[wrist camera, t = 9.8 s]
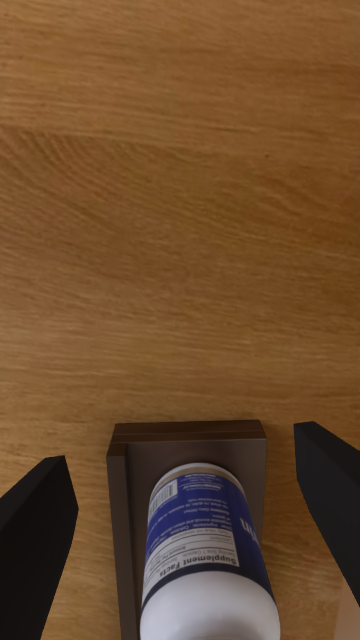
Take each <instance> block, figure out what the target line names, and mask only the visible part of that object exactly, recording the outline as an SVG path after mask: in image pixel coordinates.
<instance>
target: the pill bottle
mask: <svg viewBox="0 0 360 640" xmlns="http://www.w3.org/2000/svg"><path fill="white" fill-rule="evenodd" d="M140 636H141V640H280V622H279V616H278V611H277V607H276V603H275V600H274V596H273V593H272V589H271V586H270V582H269V579H268V575H267V571H266V568H265V564H264V561H263V557H262V554H261V550H260V547H259V543H258V540H257V536H256V532H255V529H254V525H253V521H252V518H251V514H250V511H249V507H248V503H247V500H246V497H245V493H244V491H243V488H242V486H241V485H240V483H239V482H238V480H237V479H236V478H235V477H234V476H233V475H232V474H231V473H230V472H228V471H227V470H225V469H223V468H221V467H219V466H216V465H212V464H208V463H190V464H185V465H182V466H179V467H177V468H175V469H173V470H171V471H169V472H168V473H167V474H165V475H164V476H163V477H162V478H161V479H160V480H159V482H158V483H157V484H156V486H155V488H154V489H153V492H152V494H151V498H150V503H149V511H148V526H147V541H146V555H145V568H144V581H143V594H142V606H141V622H140Z"/></svg>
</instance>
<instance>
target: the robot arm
mask: <svg viewBox="0 0 360 640" xmlns="http://www.w3.org/2000/svg"><path fill="white" fill-rule="evenodd" d="M294 439H295V455H296V472H297V481H298V483H299V486H300V488H301V491H302V494H303V496H304V499H305V501H306V504H307V506H308V509H309V511H310V513H311V515H312V517H313V519H314V521H315V523H316V525H317V527H318V529H319V531H320V532H321V534H322V536H323V538H324V540H325V542H326V544H327V546H328V547H329V549H330V551H331V553H332V555H333V557H334V559H335V561H336V562H337V564H338V566H339V568H340V570H341V572H342V574H343V576H344V577H345V579H346V581H347V583H348V585H349V587H350V589H351V591H352V593H353V595H354V597H355V599H356V601H357V603H358V605H359V607H360V451H359V450H357V449H355V448H354V447H352V446H351V445H349V444H348V443H346V442H345V441H343V440H342V439H340V438H339V437H337V436H336V435H334V434H333V433H331V432H329V431H328V430H326V429H325V428H323V427H322V426H320V425H319V424H317V423H316V422H314V421H310V422H303V423H296V424H294ZM78 510H79V508H78V504H77V500H76V496H75V493H74V489H73V485H72V481H71V478H70V474H69V470H68V467H67V463H66V459H65V455H62V456H55V457H48V458H45V459H43V460H42V461H41V462H40V463H38V464H37V465H36V466H35V467H34V468H33V469H32V470H31V471H29V472H28V473H27V474H26V475H25V476H24V477H23V478H22V479H21V480H20V481H19V482H17V483H16V484H15V485H14V486H13V487H12V488H11V489H10V490H9V491H8V492H7V493H5V494H4V495H3V496H2V497H1V498H0V640H40V639H41V635H42V632H43V629H44V626H45V623H46V620H47V617H48V614H49V611H50V608H51V605H52V602H53V599H54V596H55V593H56V590H57V587H58V584H59V581H60V578H61V575H62V572H63V569H64V566H65V563H66V560H67V557H68V554H69V550H70V547H71V544H72V540H73V535H74V531H75V526H76V520H77V515H78Z"/></svg>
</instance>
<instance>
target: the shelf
mask: <svg viewBox="0 0 360 640" xmlns="http://www.w3.org/2000/svg"><path fill="white" fill-rule="evenodd" d="M266 454H267V437H266V435H265V432H264V430H263V428H262V425H261V423H260V421H259V420H236V421H200V422H163V423H127V424H115V428H114V431H113V435H112V439H111V442H110V445H109V449H108V452H107V455H106V461H107V473H108V485H109V497H110V508H111V520H112V532H113V544H114V555H115V567H116V579H117V590H118V602H119V614H120V626H121V637H122V640H141V636H140V622H141V606H142V594H143V581H144V568H145V555H146V541H147V526H148V511H149V503H150V498H151V494H152V492H153V489H154V488H155V486H156V484H157V483H158V482H159V480H160V479H161V478H162V477H163V476H164V475H165V474H167V473H168V472H169V471H171V470H173V469H175V468H177V467H179V466H182V465H185V464H190V463H208V464H212V465H216V466H219V467H221V468H223V469H225V470H227V471H228V472H230V473H231V474H232V475H233V476H234V477H235V478H236V479H237V480H238V482H239V483H240V485H241V486H242V488H243V491H244V493H245V497H246V500H247V503H248V507H249V511H250V514H251V518H252V521H253V525H254V529H255V532H256V536H257V540H258V543H259V547H260V550H261V542H262V525H263V507H264V489H265V472H266Z"/></svg>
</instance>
